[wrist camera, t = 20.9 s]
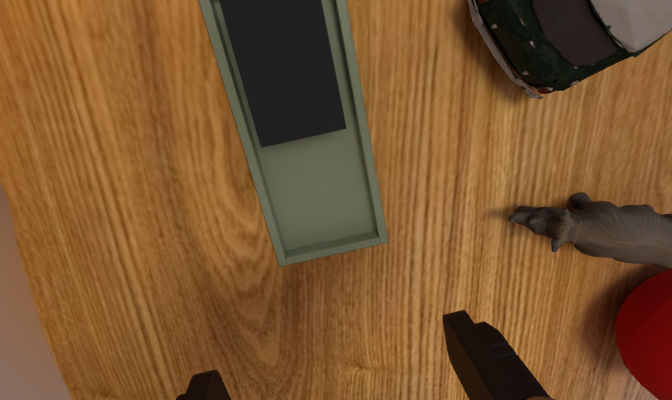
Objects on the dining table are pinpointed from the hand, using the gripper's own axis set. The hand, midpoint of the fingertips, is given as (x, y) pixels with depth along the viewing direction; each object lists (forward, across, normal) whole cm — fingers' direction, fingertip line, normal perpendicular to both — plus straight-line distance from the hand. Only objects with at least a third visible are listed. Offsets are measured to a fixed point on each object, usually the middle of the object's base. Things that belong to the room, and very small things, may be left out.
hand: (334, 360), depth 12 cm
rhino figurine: (+15, -19, +5) cm, 25 cm away
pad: (+14, -1, -10) cm, 18 cm away
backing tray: (+15, 0, -6) cm, 16 cm away
